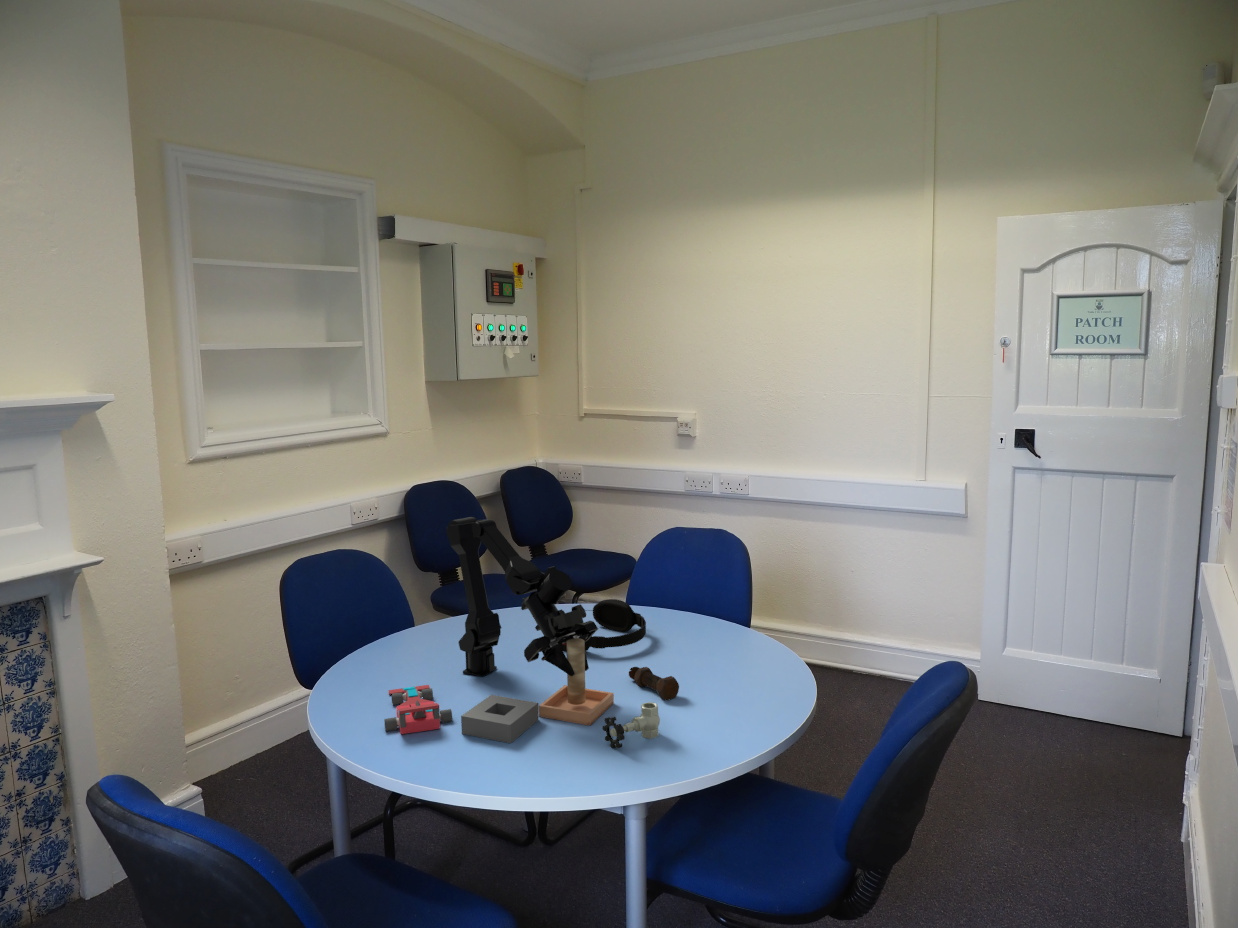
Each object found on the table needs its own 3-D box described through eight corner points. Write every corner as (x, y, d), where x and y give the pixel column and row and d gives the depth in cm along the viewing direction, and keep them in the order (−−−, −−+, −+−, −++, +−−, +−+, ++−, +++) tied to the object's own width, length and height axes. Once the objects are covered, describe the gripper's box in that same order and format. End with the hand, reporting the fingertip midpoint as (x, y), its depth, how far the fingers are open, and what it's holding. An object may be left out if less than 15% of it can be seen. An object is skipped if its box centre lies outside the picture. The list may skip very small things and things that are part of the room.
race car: (438, 663, 204) (453, 703, 181) (439, 687, 205) (454, 729, 182) (377, 671, 200) (385, 713, 176) (379, 695, 201) (386, 740, 177)
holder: (461, 733, 179) (461, 715, 178) (491, 711, 189) (491, 694, 189) (510, 743, 174) (510, 724, 173) (538, 719, 185) (538, 702, 184)
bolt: (636, 686, 208) (673, 704, 196) (621, 680, 205) (658, 698, 193) (644, 663, 209) (682, 680, 197) (630, 657, 206) (667, 674, 194)
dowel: (568, 705, 187) (567, 644, 186) (567, 697, 191) (566, 638, 190) (586, 704, 188) (585, 643, 186) (584, 696, 192) (583, 637, 190)
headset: (564, 622, 253) (563, 594, 252) (651, 625, 249) (650, 596, 248) (543, 655, 225) (542, 624, 224) (640, 659, 221) (640, 626, 220)
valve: (648, 726, 181) (602, 742, 174) (647, 697, 180) (601, 712, 173) (667, 738, 176) (621, 754, 169) (667, 707, 175) (620, 723, 168)
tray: (539, 716, 187) (538, 705, 186) (564, 695, 198) (564, 684, 198) (590, 725, 182) (590, 714, 181) (613, 703, 193) (613, 692, 193)
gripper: (531, 604, 183) (566, 665, 176) (591, 586, 196) (627, 643, 190) (508, 631, 189) (542, 691, 183) (569, 612, 202) (602, 667, 196)
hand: (580, 672), depth 188 cm, fingers closed on dowel, 4 cm apart
